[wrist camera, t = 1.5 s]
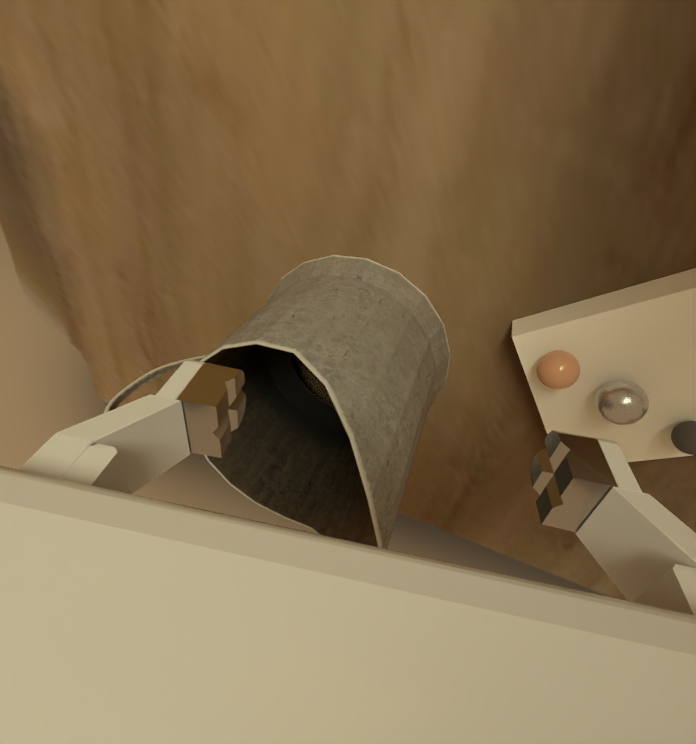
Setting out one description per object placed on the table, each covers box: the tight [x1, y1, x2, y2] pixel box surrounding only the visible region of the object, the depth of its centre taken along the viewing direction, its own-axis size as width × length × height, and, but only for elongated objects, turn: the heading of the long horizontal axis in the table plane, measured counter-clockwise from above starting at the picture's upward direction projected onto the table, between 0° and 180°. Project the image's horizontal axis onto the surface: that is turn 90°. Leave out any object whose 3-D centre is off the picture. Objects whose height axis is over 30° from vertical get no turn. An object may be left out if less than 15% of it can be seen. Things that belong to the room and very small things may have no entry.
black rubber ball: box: [671, 421, 696, 455], centre depth 37 cm, size 3×3×3 cm
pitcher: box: [104, 255, 451, 549], centre depth 42 cm, size 23×32×25 cm
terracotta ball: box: [536, 350, 580, 389], centre depth 37 cm, size 4×4×4 cm
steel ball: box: [595, 380, 649, 425], centre depth 37 cm, size 4×4×4 cm
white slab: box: [512, 268, 696, 462], centre depth 37 cm, size 25×17×4 cm
